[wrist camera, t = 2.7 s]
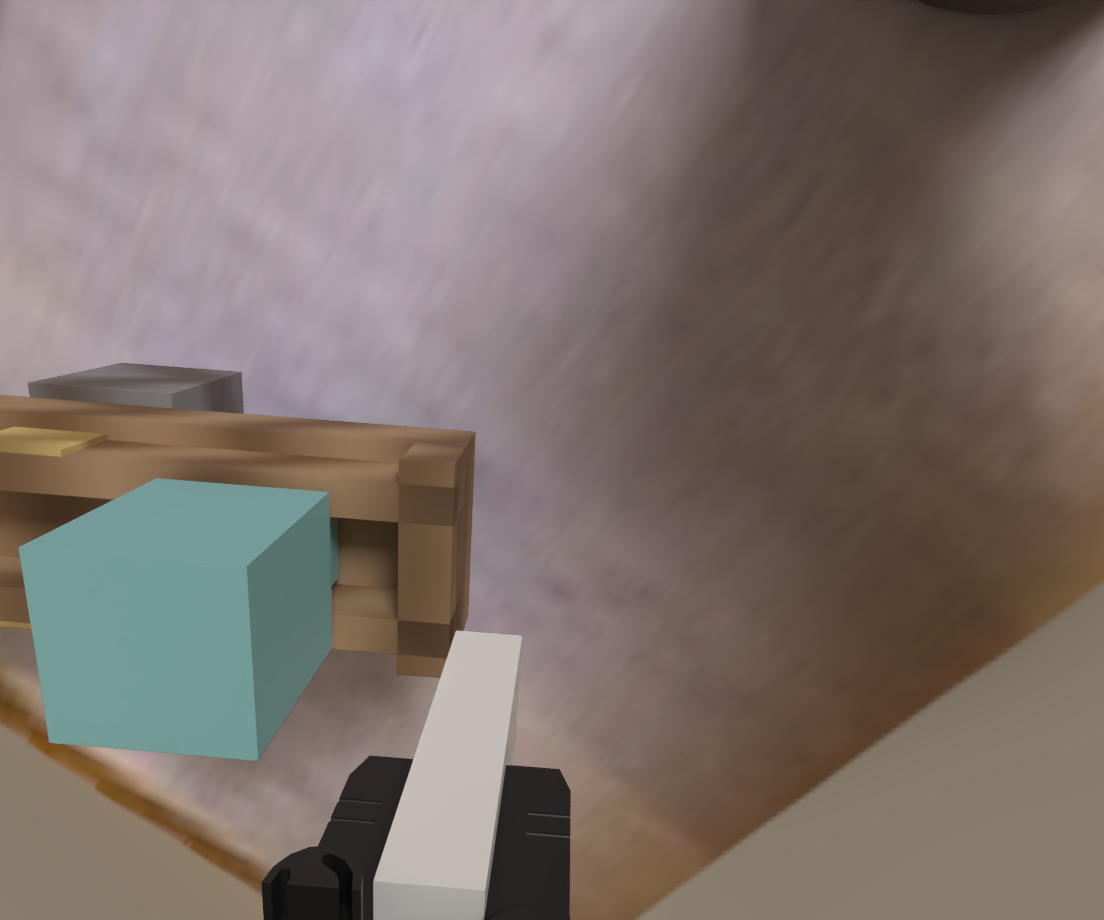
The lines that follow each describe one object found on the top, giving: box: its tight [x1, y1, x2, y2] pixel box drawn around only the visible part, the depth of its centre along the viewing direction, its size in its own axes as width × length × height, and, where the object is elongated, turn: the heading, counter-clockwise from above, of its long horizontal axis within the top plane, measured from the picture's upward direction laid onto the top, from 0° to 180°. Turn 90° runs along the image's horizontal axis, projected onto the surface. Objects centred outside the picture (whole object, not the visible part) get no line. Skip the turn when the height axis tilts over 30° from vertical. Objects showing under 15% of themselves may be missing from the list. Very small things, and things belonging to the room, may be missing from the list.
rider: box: [18, 478, 339, 761], centre depth 19 cm, size 5×5×7 cm
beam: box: [0, 363, 475, 678], centre depth 23 cm, size 26×8×13 cm, turn 86°
